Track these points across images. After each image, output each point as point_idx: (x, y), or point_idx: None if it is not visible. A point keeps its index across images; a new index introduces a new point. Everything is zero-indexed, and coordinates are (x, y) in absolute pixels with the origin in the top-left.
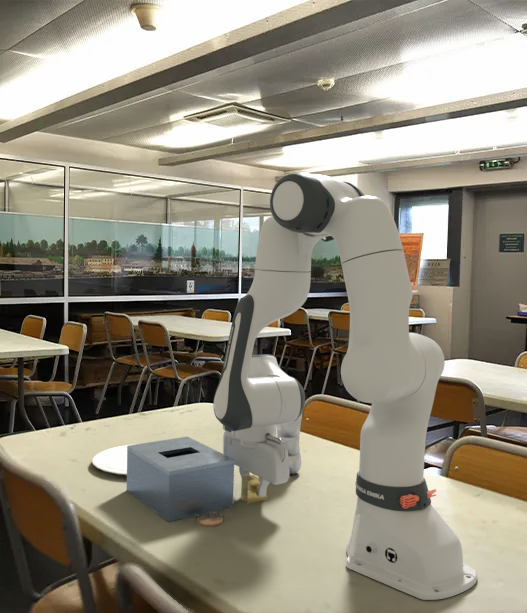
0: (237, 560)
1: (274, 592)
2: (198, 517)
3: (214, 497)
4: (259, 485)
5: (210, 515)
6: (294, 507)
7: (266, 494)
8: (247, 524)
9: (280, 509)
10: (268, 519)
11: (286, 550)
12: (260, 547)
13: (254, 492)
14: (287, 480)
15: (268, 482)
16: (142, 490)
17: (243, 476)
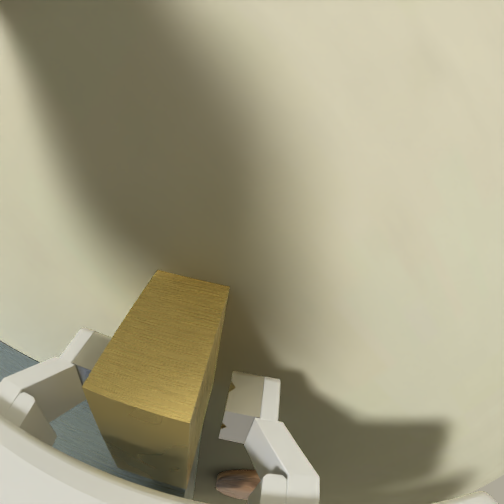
0: (411, 495)
1: (481, 482)
2: (233, 496)
3: (189, 492)
4: (261, 470)
5: (244, 489)
6: (451, 270)
7: (224, 306)
8: (351, 460)
9: (397, 340)
10: (395, 419)
11: (485, 448)
12: (434, 472)
13: (206, 397)
14: (492, 501)
15: (310, 474)
16: None
17: (63, 408)
